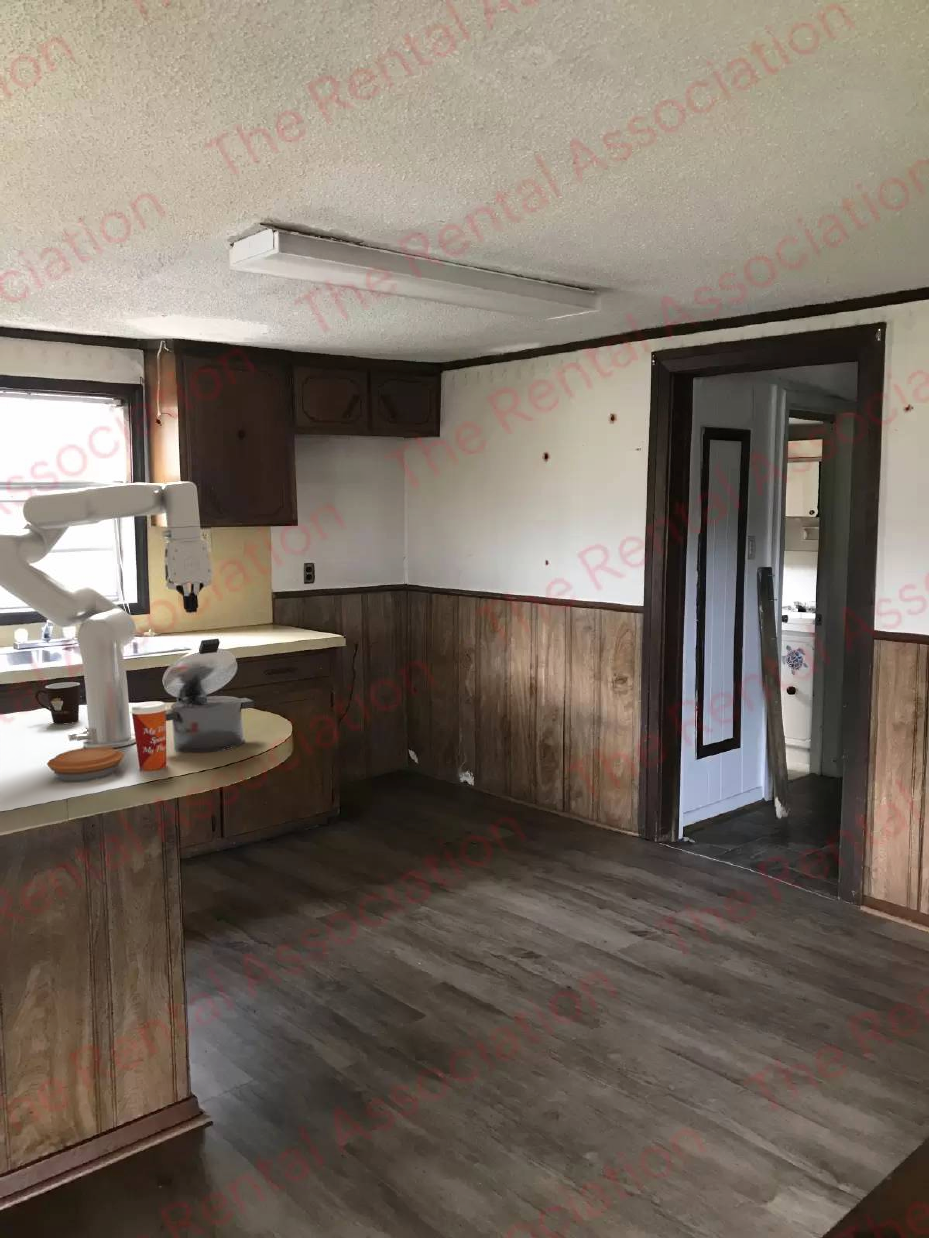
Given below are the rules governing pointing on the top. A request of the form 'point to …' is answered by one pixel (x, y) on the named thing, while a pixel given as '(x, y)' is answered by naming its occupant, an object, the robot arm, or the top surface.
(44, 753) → the top surface
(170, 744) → the top surface
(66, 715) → the coffee mug
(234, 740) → the cooker pot
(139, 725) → the paper cup
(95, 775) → the pie
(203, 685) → the cooker lid
